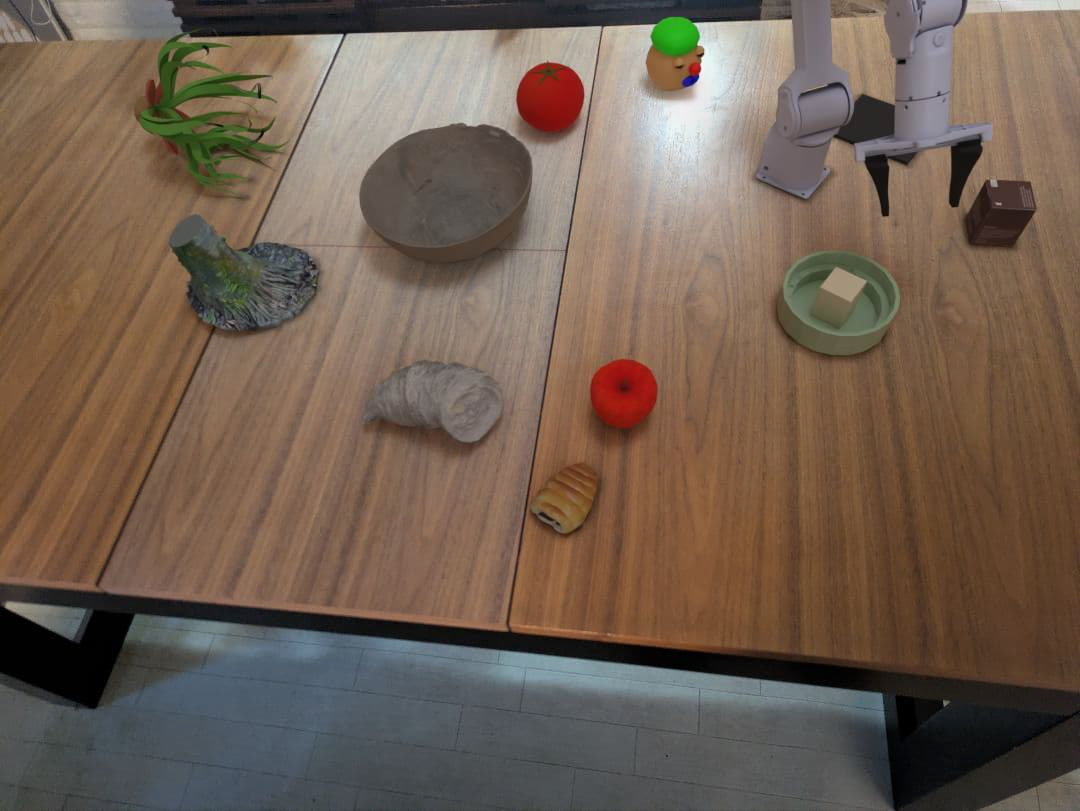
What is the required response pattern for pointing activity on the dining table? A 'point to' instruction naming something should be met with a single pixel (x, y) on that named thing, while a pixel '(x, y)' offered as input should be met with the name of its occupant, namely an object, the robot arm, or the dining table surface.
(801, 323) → the green bowl
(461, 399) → the seashell
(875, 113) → the mat
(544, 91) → the tomato
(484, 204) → the bowl
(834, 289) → the block
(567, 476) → the pastry
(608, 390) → the apple
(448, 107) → the dining table surface
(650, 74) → the figurine
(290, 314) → the tree stump
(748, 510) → the dining table surface
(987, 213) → the box
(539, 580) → the dining table surface
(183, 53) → the decorative plant
